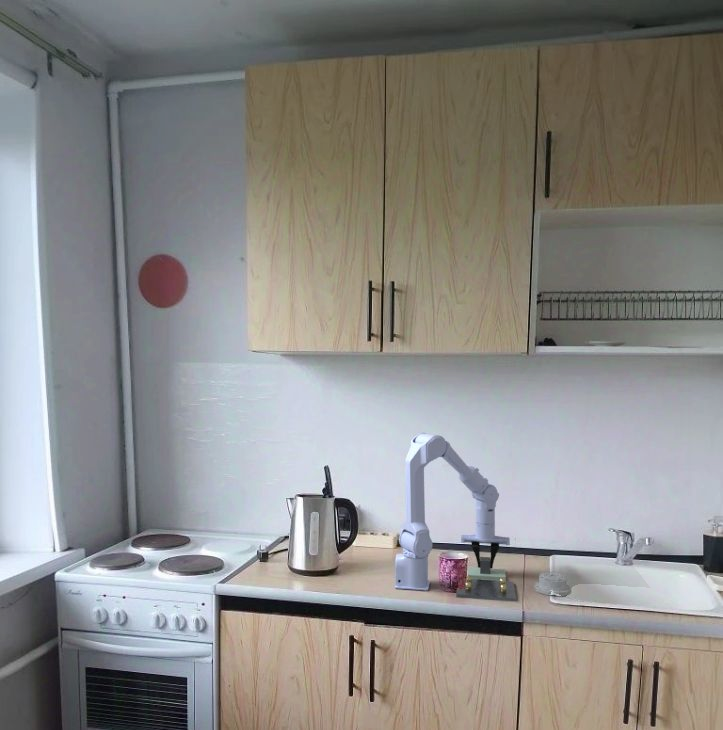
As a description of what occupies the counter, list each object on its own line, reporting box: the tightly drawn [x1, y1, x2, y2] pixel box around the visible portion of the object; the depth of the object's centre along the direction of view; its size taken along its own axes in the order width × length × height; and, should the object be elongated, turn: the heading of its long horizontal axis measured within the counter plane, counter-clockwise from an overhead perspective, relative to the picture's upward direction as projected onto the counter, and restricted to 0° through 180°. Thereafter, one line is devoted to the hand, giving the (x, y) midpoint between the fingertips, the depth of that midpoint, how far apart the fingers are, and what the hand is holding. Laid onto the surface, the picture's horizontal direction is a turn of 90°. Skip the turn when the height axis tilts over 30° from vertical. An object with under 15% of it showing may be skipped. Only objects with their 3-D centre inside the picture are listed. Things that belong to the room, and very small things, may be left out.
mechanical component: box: [534, 571, 572, 597], centre depth 175 cm, size 10×4×10 cm
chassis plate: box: [455, 576, 517, 602], centre depth 175 cm, size 16×14×3 cm
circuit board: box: [467, 556, 507, 581], centre depth 189 cm, size 12×8×5 cm, turn 79°
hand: (485, 567), depth 189 cm, fingers closed on circuit board, 3 cm apart
